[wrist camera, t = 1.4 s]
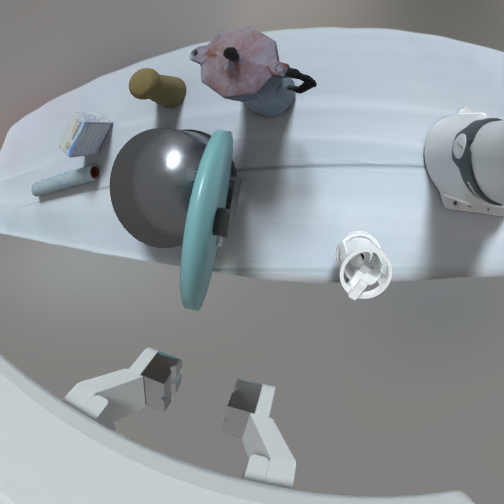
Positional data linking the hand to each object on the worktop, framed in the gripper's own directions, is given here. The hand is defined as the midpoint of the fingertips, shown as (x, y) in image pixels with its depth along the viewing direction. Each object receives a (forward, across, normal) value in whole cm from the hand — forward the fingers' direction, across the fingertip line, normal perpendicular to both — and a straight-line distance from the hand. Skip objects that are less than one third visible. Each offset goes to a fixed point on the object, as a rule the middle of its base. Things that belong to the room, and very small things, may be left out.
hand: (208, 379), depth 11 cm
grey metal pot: (+41, +19, 0) cm, 45 cm away
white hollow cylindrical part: (+41, -12, +4) cm, 43 cm away
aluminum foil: (+42, +51, +3) cm, 66 cm away
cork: (+41, +25, -16) cm, 51 cm away
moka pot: (+41, +7, -18) cm, 46 cm away
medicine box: (+41, +41, -7) cm, 59 cm away
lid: (+30, +10, 0) cm, 32 cm away
